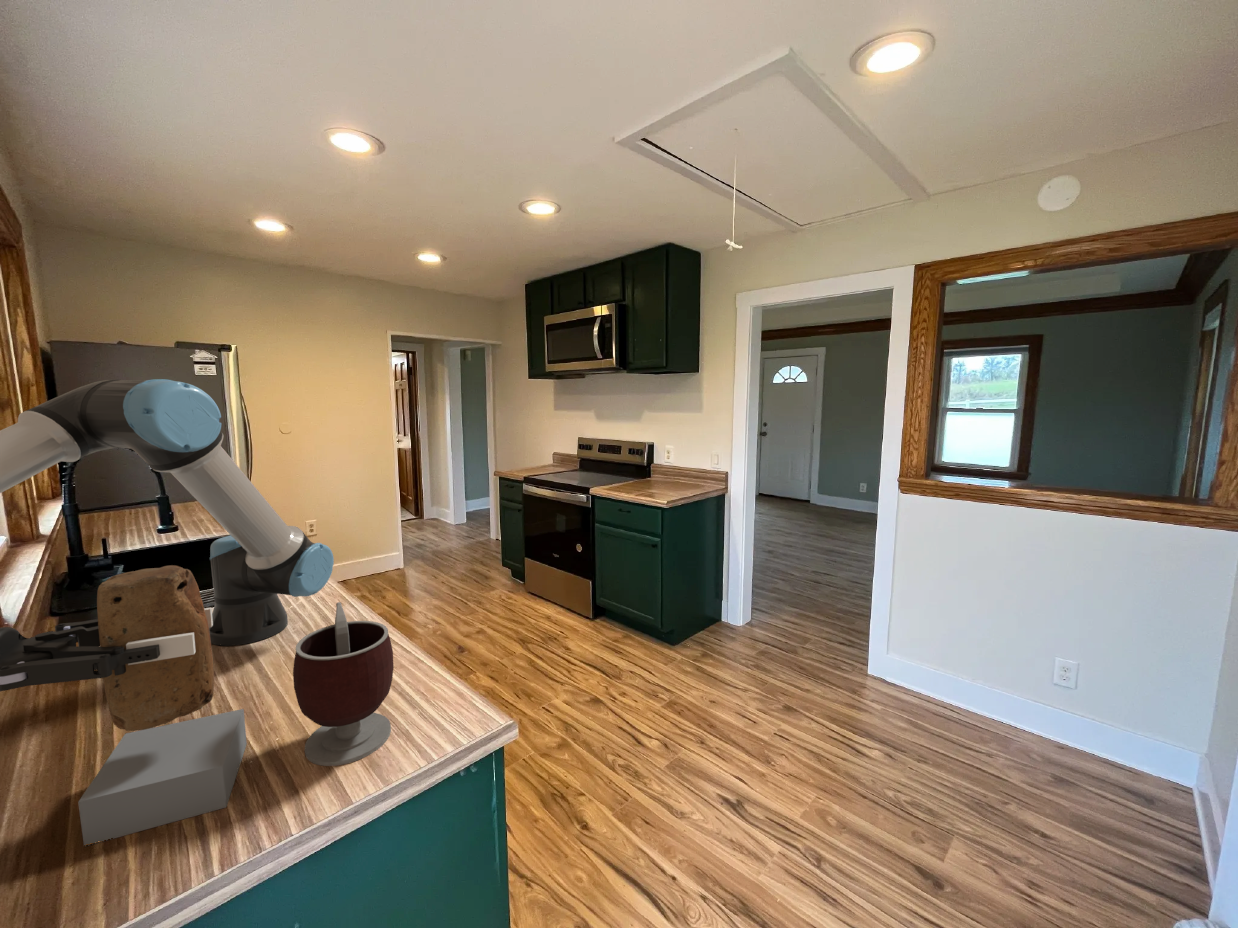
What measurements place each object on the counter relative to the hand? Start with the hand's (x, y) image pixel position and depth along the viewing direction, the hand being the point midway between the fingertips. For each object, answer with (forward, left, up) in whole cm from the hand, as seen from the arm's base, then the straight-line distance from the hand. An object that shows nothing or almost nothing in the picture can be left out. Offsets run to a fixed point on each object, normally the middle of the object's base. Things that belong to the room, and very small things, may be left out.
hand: (203, 629), depth 71 cm
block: (0, -5, -11) cm, 12 cm away
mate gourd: (-2, +17, -23) cm, 28 cm away
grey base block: (0, -5, -22) cm, 23 cm away
